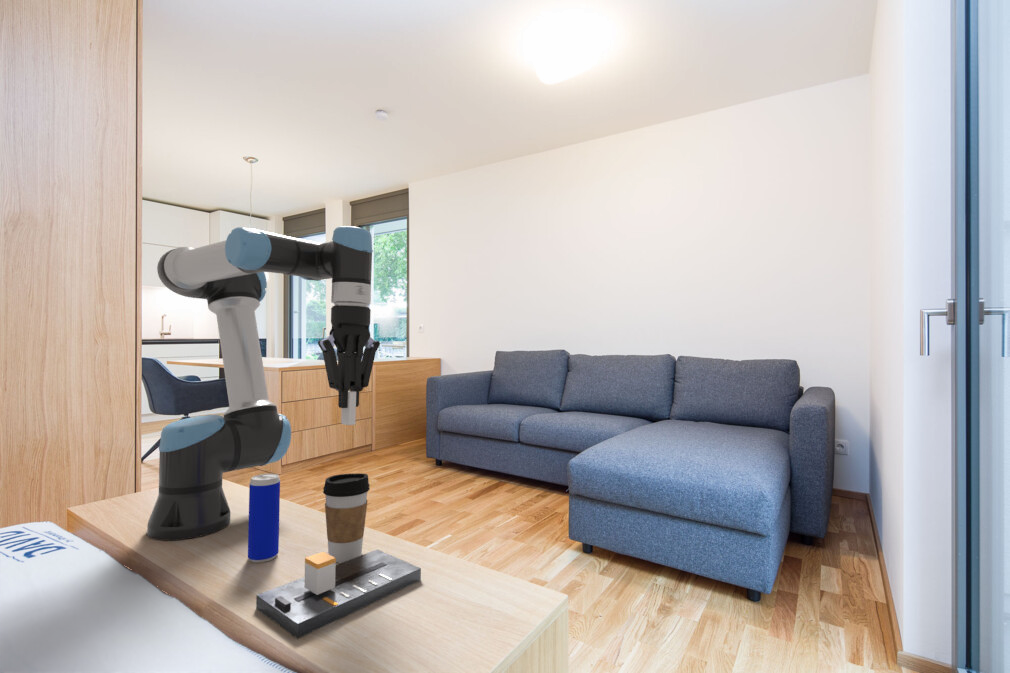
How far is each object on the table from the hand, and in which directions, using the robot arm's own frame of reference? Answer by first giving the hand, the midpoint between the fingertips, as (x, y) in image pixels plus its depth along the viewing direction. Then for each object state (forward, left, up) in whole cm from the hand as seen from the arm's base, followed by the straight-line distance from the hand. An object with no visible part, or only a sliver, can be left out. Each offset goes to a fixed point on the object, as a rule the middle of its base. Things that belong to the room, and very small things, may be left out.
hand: (348, 423), depth 97 cm
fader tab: (+16, -15, -22) cm, 31 cm away
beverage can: (-7, -13, -24) cm, 28 cm away
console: (+16, -11, -24) cm, 31 cm away
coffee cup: (+4, -2, -24) cm, 25 cm away
